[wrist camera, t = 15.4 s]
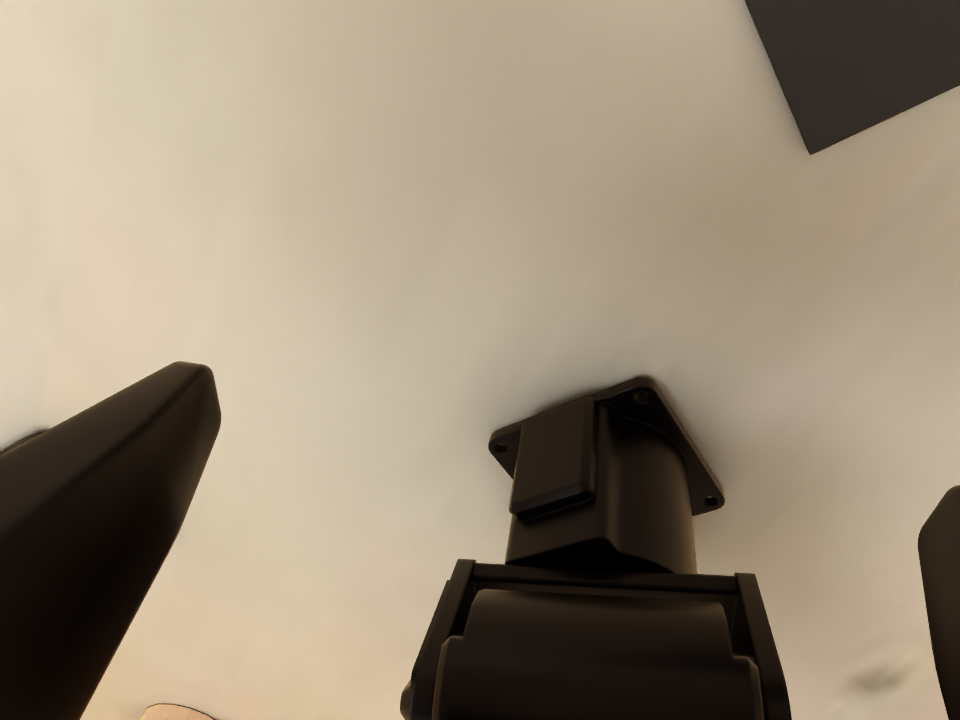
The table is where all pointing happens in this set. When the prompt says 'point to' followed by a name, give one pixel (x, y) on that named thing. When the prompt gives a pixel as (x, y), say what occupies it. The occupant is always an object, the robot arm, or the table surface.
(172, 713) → the shot glass
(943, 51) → the mat
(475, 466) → the table surface
